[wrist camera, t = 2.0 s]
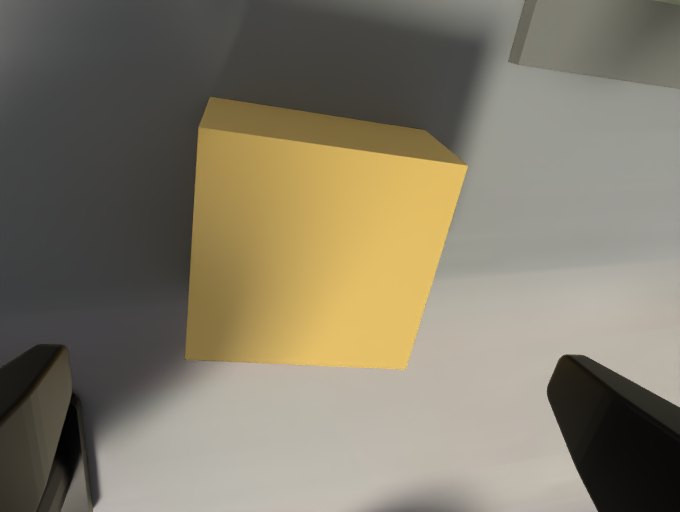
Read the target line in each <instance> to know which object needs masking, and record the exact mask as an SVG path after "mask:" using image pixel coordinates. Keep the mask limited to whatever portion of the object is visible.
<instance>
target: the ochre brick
mask: <svg viewBox="0 0 680 512" xmlns="http://www.w3.org/2000/svg"><path fill="white" fill-rule="evenodd" d="M467 168H468V165H467V164H466V163H464V162H463V161H462V160H461V159H460V158H458V157H457V156H456V155H455V154H454V153H452V152H451V151H450V150H449V149H447V148H446V147H445V146H444V145H443V144H441V143H440V142H439V141H438V140H437V139H435V138H434V137H433V136H432V135H431V134H429V133H428V132H427V131H426V130H421V129H414V128H408V127H401V126H395V125H388V124H382V123H376V122H369V121H363V120H356V119H350V118H344V117H337V116H331V115H324V114H318V113H312V112H305V111H299V110H292V109H286V108H280V107H273V106H267V105H260V104H254V103H247V102H241V101H235V100H228V99H222V98H215V97H210V98H209V101H208V103H207V106H206V109H205V111H204V114H203V117H202V119H201V122H200V125H199V127H198V144H197V161H196V178H195V196H194V213H193V230H192V247H191V264H190V281H189V299H188V316H187V333H186V350H185V360H203V361H225V362H248V363H270V364H293V365H316V366H338V367H361V368H383V369H406V367H407V364H408V361H409V357H410V354H411V351H412V348H413V344H414V341H415V338H416V335H417V331H418V328H419V325H420V322H421V318H422V315H423V312H424V308H425V305H426V302H427V299H428V295H429V292H430V289H431V286H432V282H433V279H434V276H435V273H436V269H437V266H438V263H439V259H440V256H441V253H442V250H443V246H444V243H445V240H446V237H447V233H448V230H449V227H450V223H451V220H452V217H453V214H454V210H455V207H456V204H457V201H458V197H459V194H460V191H461V188H462V184H463V181H464V178H465V174H466V171H467Z"/></svg>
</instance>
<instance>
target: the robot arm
mask: <svg viewBox="0 0 680 512" xmlns="http://www.w3.org/2000/svg"><path fill="white" fill-rule="evenodd" d="M547 396H548V400H549V403H550V405H551V407H552V410H553V412H554V415H555V417H556V420H557V422H558V425H559V427H560V430H561V432H562V435H563V437H564V440H565V442H566V445H567V447H568V450H569V452H570V455H571V457H572V460H573V462H574V464H575V467H576V469H577V471H578V473H579V475H580V477H581V479H582V481H583V483H584V485H585V487H586V489H587V491H588V493H589V495H590V497H591V499H592V501H593V503H594V505H595V507H596V509H597V511H598V512H680V407H678V406H676V405H674V404H672V403H671V402H669V401H667V400H665V399H663V398H661V397H660V396H658V395H656V394H654V393H652V392H650V391H649V390H647V389H645V388H643V387H641V386H639V385H638V384H636V383H634V382H632V381H630V380H628V379H627V378H625V377H623V376H621V375H619V374H617V373H616V372H614V371H612V370H610V369H608V368H606V367H605V366H603V365H601V364H599V363H597V362H596V361H594V360H592V359H590V358H588V357H586V356H584V355H563V356H562V357H561V358H560V359H559V361H558V363H557V365H556V367H555V370H554V372H553V374H552V377H551V379H550V381H549V384H548V387H547ZM0 512H93V507H92V498H91V490H90V481H89V472H88V463H87V454H86V445H85V437H84V428H83V419H82V410H81V402H80V400H79V398H78V397H77V396H76V395H75V394H73V393H72V379H71V370H70V362H69V354H68V350H67V348H66V347H65V346H64V345H61V344H39V345H36V346H34V347H32V348H31V349H29V350H28V351H26V352H25V353H23V354H21V355H20V356H18V357H17V358H15V359H14V360H12V361H11V362H9V363H7V364H6V365H4V366H3V367H1V368H0Z"/></svg>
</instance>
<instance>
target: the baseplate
mask: <svg viewBox="0 0 680 512" xmlns="http://www.w3.org/2000/svg"><path fill="white" fill-rule="evenodd" d="M508 62H511V63H514V64H517V65H523V66H530V67H537V68H543V69H550V70H557V71H563V72H570V73H577V74H583V75H590V76H597V77H603V78H610V79H617V80H623V81H630V82H637V83H643V84H650V85H657V86H664V87H670V88H677V89H680V0H525V4H524V8H523V11H522V15H521V18H520V22H519V25H518V29H517V32H516V36H515V40H514V43H513V47H512V50H511V54H510V57H509V61H508Z"/></svg>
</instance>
